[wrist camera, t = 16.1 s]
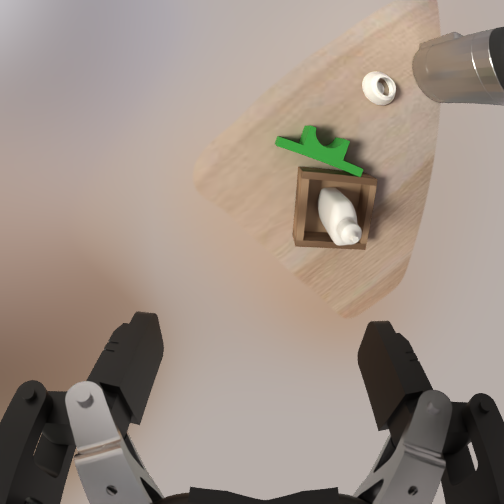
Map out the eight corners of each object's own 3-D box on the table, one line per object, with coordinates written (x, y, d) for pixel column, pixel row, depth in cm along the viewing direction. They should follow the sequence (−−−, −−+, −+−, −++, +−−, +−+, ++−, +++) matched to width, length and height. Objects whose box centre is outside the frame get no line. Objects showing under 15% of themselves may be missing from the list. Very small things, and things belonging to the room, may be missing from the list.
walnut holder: (298, 166, 36) (302, 171, 33) (366, 173, 36) (377, 179, 32) (292, 234, 41) (295, 246, 37) (356, 238, 40) (365, 249, 37)
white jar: (354, 86, 31) (378, 112, 32) (361, 83, 28) (387, 111, 30) (375, 65, 29) (398, 91, 31) (383, 62, 27) (408, 90, 28)
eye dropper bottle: (350, 194, 37) (384, 224, 26) (333, 228, 39) (359, 269, 28) (324, 181, 36) (350, 207, 26) (307, 217, 39) (324, 255, 28)
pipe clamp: (358, 147, 35) (370, 150, 31) (349, 171, 36) (360, 177, 32) (283, 118, 34) (286, 117, 29) (274, 143, 35) (276, 146, 31)
